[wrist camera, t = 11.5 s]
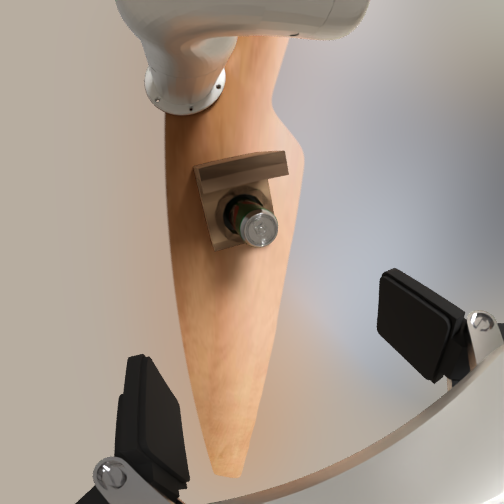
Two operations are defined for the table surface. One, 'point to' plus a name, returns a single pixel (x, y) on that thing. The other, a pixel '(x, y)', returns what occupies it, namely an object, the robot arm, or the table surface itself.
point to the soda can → (252, 221)
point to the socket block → (236, 189)
